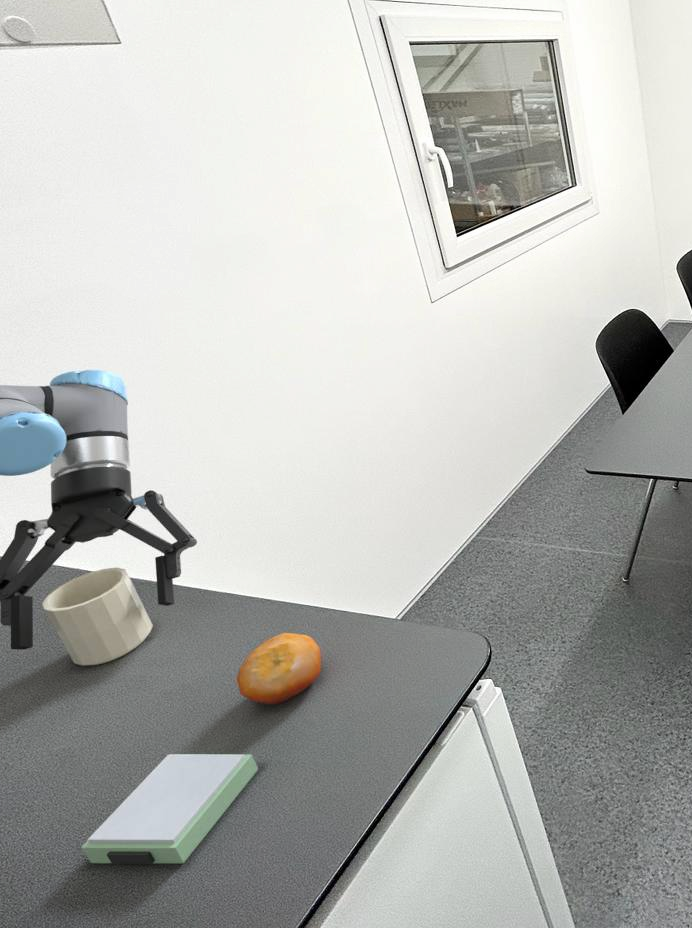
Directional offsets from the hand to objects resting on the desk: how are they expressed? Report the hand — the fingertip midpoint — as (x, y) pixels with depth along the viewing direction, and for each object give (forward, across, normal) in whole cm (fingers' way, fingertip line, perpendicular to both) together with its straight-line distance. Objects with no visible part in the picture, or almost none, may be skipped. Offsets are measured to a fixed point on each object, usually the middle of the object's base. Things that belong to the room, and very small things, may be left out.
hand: (97, 625), depth 83 cm
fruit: (+17, -21, +10) cm, 29 cm away
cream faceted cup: (+2, 0, -5) cm, 5 cm away
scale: (+26, -13, +19) cm, 35 cm away
